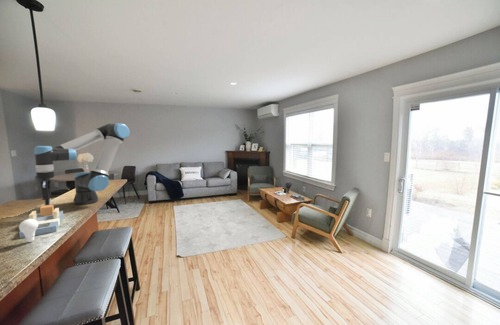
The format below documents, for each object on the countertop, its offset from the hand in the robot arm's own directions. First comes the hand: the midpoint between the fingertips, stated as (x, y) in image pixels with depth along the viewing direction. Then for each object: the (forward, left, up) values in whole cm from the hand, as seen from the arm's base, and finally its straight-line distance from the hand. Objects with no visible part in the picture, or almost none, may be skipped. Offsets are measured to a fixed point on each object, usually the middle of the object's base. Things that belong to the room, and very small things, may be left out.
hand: (48, 209), depth 126 cm
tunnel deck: (+14, +8, -5) cm, 17 cm away
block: (+5, +3, -2) cm, 6 cm away
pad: (+17, +9, -5) cm, 20 cm away
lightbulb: (+34, +17, -5) cm, 38 cm away
